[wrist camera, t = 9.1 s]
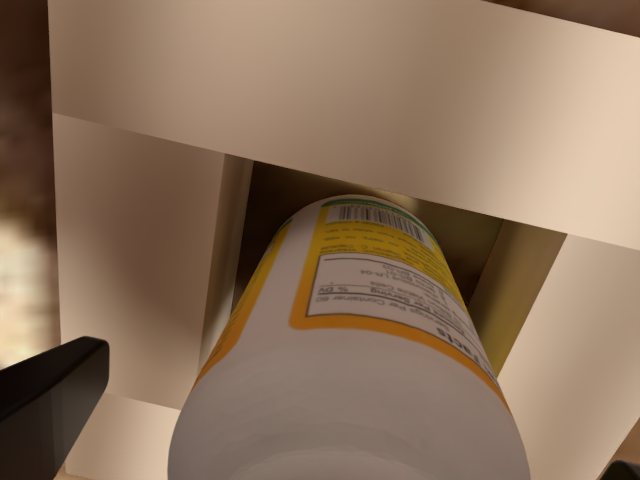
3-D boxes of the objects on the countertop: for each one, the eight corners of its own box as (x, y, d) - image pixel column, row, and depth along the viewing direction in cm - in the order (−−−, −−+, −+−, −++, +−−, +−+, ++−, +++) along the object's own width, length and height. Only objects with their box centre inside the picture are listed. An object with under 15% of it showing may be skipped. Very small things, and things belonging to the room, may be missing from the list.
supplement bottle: (401, 157, 11) (582, 533, 2) (469, 317, 13) (729, 903, 4) (230, 236, 12) (-103, 670, 3) (311, 371, 14) (229, 901, 5)
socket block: (119, 398, 15) (66, 473, 12) (134, -53, 10) (43, -103, 7) (495, 486, 15) (526, 579, 12) (720, 85, 10) (866, 91, 7)
